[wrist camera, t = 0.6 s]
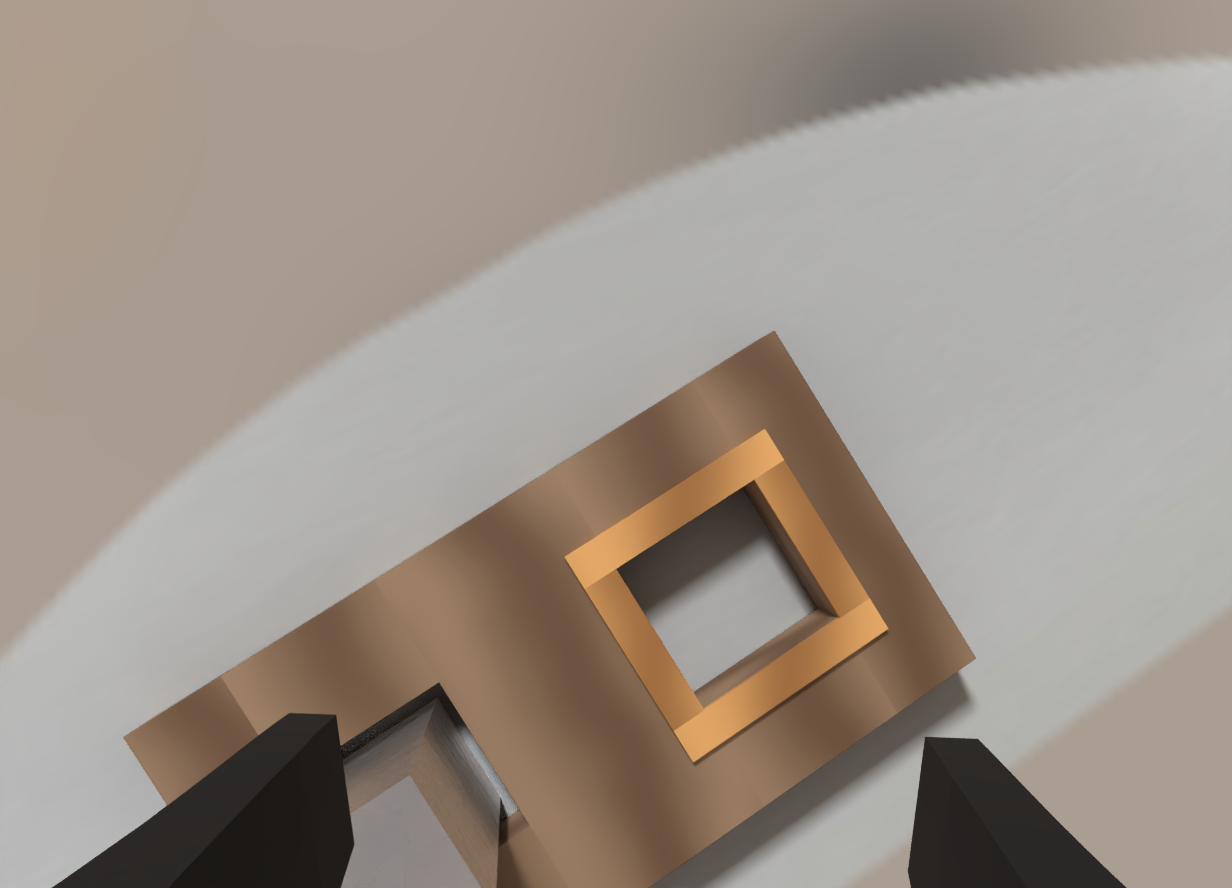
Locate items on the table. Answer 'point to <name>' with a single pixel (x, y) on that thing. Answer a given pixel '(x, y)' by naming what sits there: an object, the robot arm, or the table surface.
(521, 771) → the wooden peg hole board
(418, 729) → the steel peg
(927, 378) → the table surface
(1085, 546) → the table surface
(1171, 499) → the table surface
